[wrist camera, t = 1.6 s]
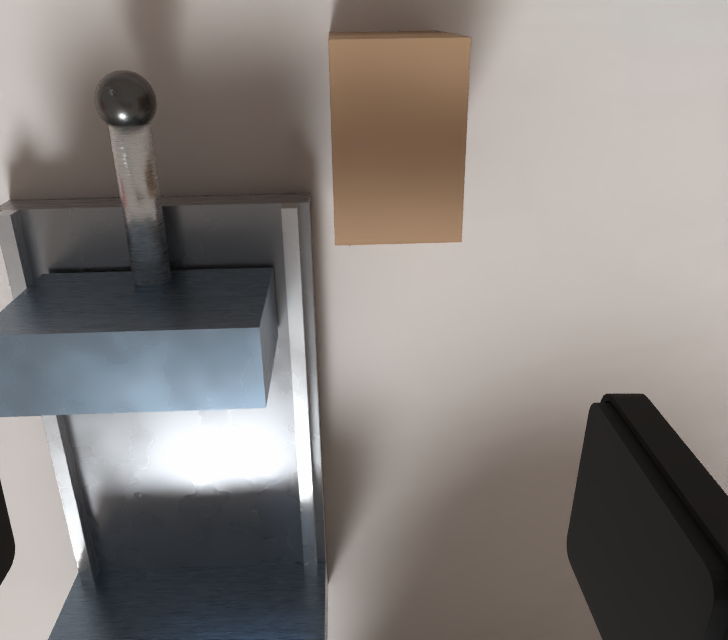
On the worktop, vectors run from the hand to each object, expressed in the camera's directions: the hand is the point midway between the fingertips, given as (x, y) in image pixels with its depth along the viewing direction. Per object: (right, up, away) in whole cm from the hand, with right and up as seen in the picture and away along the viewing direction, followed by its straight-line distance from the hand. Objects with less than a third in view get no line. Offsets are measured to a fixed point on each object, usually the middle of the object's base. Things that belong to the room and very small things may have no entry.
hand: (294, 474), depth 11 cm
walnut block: (+2, +10, +16) cm, 19 cm away
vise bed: (-7, -2, +21) cm, 23 cm away
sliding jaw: (-7, +6, +16) cm, 18 cm away
